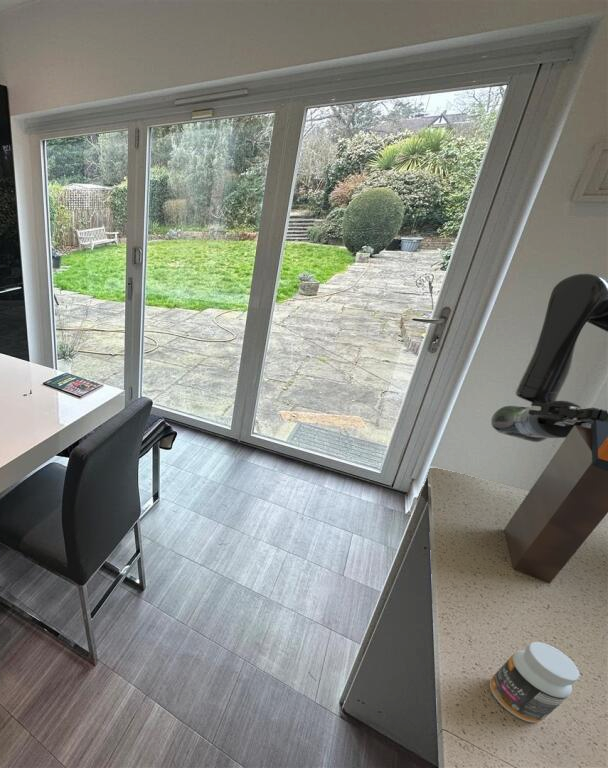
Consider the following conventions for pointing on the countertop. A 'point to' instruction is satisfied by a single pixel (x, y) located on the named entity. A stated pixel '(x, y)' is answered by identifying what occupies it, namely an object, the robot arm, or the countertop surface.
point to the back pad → (599, 444)
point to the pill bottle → (534, 681)
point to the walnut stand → (559, 509)
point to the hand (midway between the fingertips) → (599, 414)
